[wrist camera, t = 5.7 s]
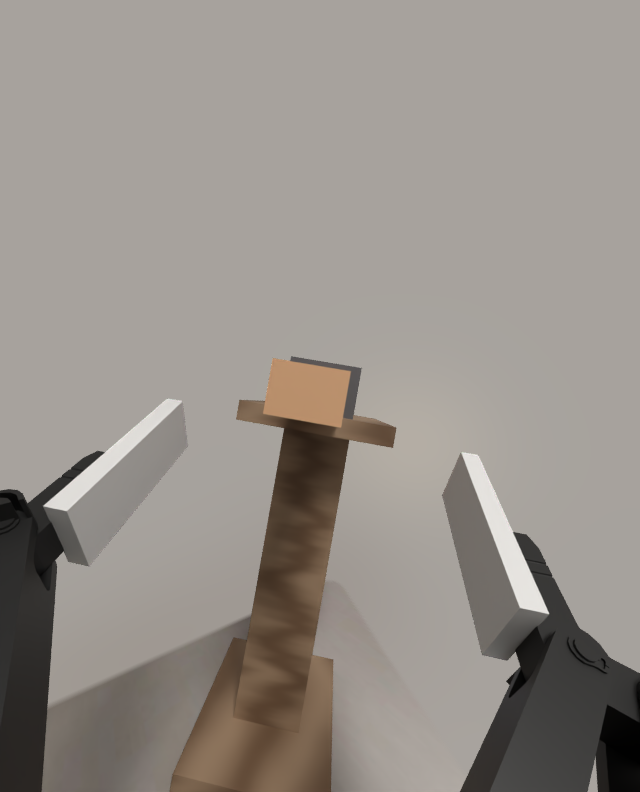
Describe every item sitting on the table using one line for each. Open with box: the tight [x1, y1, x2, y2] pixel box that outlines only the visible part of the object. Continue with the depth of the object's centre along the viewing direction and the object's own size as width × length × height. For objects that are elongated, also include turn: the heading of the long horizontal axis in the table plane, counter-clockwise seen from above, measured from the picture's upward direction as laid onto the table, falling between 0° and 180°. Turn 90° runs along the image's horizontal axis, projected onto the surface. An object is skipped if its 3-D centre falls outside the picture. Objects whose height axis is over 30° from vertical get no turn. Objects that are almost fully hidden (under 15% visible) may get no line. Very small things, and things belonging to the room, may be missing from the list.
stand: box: [170, 400, 396, 792], centre depth 31 cm, size 12×14×31 cm
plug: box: [263, 357, 361, 428], centre depth 24 cm, size 6×20×4 cm, turn 177°
